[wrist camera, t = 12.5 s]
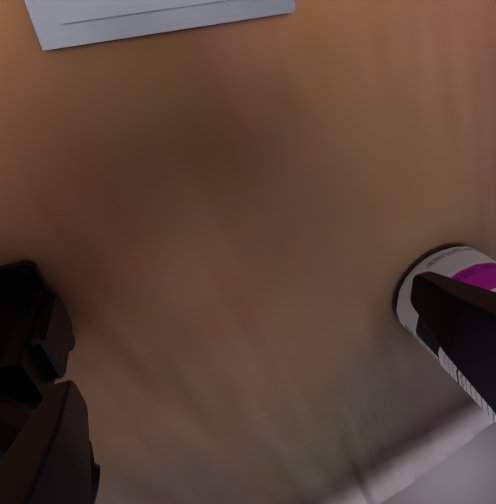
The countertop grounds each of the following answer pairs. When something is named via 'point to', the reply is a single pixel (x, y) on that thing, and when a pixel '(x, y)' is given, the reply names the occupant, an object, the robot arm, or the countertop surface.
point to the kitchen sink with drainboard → (136, 17)
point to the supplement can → (460, 268)
